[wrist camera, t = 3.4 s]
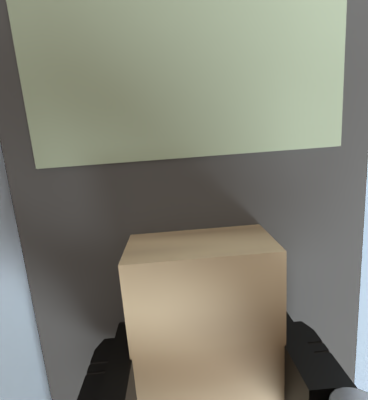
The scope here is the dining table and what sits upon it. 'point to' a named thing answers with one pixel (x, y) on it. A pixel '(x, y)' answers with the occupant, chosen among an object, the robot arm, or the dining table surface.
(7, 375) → the dining table surface
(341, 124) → the grey board
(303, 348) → the robot arm
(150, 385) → the maple tile
